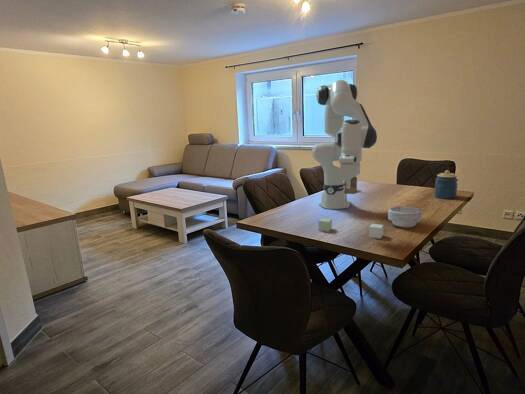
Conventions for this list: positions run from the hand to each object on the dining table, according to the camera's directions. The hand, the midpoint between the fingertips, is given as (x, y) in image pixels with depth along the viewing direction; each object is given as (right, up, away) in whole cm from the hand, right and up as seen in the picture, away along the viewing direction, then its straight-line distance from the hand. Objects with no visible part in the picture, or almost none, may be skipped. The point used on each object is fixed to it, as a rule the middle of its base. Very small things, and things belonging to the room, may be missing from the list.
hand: (350, 187), depth 153 cm
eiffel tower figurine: (+26, -1, +92) cm, 96 cm away
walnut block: (0, -3, +1) cm, 3 cm away
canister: (+79, -5, +65) cm, 102 cm away
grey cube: (+11, -22, -1) cm, 25 cm away
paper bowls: (+30, -19, +13) cm, 38 cm away
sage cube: (-10, -21, +11) cm, 25 cm away
